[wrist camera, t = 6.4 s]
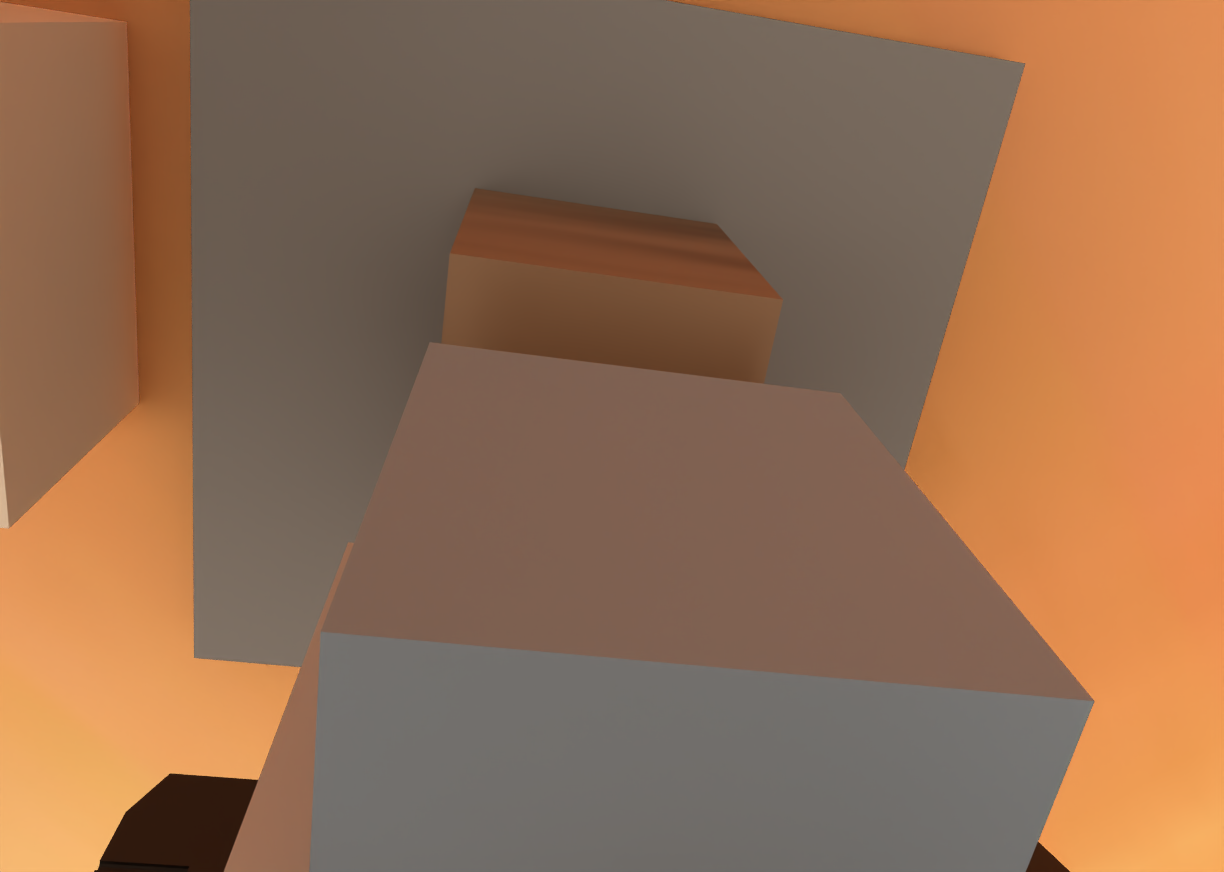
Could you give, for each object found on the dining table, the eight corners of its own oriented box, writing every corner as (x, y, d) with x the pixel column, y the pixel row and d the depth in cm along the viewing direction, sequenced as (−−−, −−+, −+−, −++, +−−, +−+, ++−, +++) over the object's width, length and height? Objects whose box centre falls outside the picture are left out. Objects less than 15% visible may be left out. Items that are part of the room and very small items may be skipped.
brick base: (475, 187, 20) (449, 253, 14) (717, 223, 20) (783, 299, 15) (439, 536, 23) (407, 701, 17) (651, 558, 23) (685, 724, 18)
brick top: (429, 342, 11) (319, 632, 6) (840, 393, 12) (1093, 701, 6) (385, 862, 14) (285, 1382, 9) (717, 882, 15) (819, 1383, 9)
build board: (206, -79, 18) (189, -84, 17) (1003, 61, 20) (1025, 63, 19) (206, 633, 24) (194, 658, 23) (821, 688, 26) (831, 712, 25)
